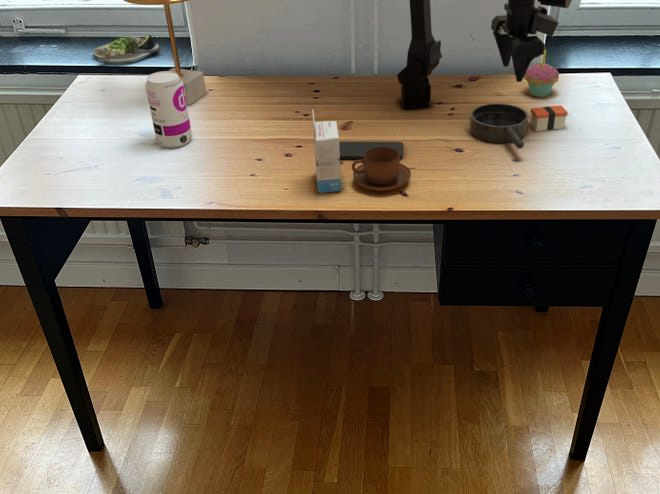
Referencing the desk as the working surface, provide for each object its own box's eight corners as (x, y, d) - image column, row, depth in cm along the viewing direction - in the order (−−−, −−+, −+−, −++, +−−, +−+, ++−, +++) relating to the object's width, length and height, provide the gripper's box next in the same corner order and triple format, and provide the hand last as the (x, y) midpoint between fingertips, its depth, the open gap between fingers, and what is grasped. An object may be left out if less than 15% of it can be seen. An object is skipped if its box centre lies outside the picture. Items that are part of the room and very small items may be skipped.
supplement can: (198, 135, 182) (188, 72, 172) (181, 151, 176) (169, 85, 166) (168, 131, 184) (156, 68, 174) (150, 146, 178) (137, 82, 169)
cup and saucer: (367, 201, 157) (367, 173, 153) (344, 175, 165) (343, 148, 161) (420, 188, 160) (421, 160, 156) (395, 164, 168) (395, 137, 164)
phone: (337, 141, 176) (403, 141, 174) (337, 144, 176) (403, 144, 175) (334, 156, 170) (402, 156, 169) (334, 159, 171) (402, 160, 169)
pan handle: (503, 132, 173) (504, 125, 172) (511, 132, 173) (512, 124, 172) (517, 150, 166) (517, 143, 165) (524, 149, 166) (525, 142, 165)
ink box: (341, 192, 160) (339, 123, 150) (317, 193, 159) (313, 125, 150) (338, 172, 166) (336, 105, 156) (315, 174, 166) (311, 107, 156)
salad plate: (117, 73, 214) (114, 56, 211) (78, 59, 223) (74, 43, 220) (171, 52, 225) (168, 36, 222) (131, 40, 234) (128, 24, 231)
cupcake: (556, 100, 192) (563, 51, 184) (521, 99, 193) (527, 49, 185) (556, 87, 198) (563, 39, 190) (522, 85, 199) (528, 37, 192)
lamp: (125, 107, 196) (84, -73, 169) (170, 77, 210) (138, -93, 184) (197, 118, 189) (166, -67, 163) (237, 87, 204) (215, -88, 177)
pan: (478, 146, 174) (480, 129, 171) (462, 122, 184) (463, 106, 181) (534, 140, 175) (536, 123, 173) (515, 117, 185) (517, 101, 182)
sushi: (534, 131, 179) (537, 115, 176) (528, 124, 182) (530, 108, 179) (565, 128, 180) (568, 112, 177) (558, 121, 183) (561, 105, 180)
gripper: (573, 12, 160) (561, 86, 170) (541, -14, 174) (532, 56, 184) (522, 16, 159) (512, 91, 169) (494, -11, 173) (486, 60, 183)
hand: (512, 73), depth 176 cm, fingers open, 9 cm apart
